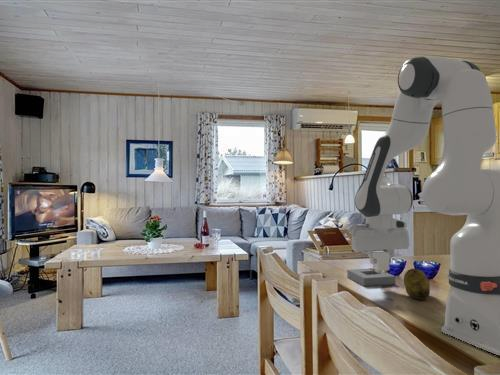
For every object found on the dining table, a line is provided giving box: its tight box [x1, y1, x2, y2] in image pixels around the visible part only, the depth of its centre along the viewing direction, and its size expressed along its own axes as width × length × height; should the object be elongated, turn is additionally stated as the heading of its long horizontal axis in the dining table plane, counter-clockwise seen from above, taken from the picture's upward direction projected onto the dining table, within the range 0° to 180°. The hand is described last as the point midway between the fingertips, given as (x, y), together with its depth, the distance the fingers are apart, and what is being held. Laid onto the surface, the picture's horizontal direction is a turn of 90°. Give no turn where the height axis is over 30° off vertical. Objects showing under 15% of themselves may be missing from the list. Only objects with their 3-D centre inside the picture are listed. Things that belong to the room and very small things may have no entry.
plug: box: [372, 250, 390, 274], centre depth 130 cm, size 4×4×7 cm
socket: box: [346, 267, 396, 288], centre depth 140 cm, size 14×12×3 cm
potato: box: [403, 268, 431, 301], centre depth 120 cm, size 8×13×8 cm, turn 150°
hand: (380, 263), depth 130 cm, fingers closed on plug, 4 cm apart
